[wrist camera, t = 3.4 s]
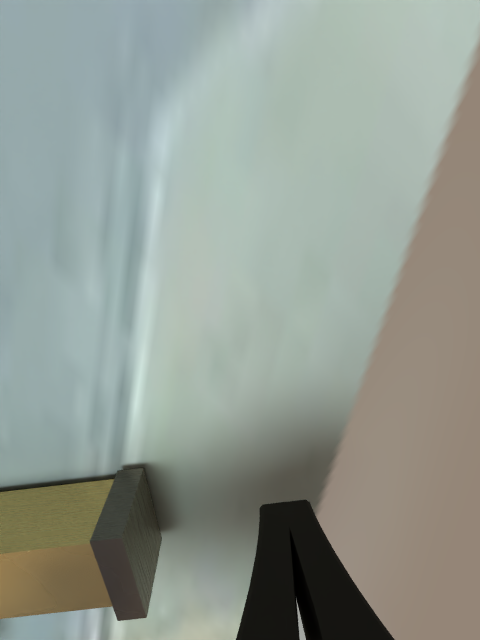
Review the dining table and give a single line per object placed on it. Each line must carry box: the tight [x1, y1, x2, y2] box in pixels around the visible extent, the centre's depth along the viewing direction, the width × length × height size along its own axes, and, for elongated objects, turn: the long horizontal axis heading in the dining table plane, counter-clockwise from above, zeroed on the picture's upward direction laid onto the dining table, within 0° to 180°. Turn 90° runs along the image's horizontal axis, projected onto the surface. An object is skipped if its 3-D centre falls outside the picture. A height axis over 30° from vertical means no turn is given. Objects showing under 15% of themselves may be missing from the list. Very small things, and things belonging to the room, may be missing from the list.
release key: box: [0, 468, 162, 621], centre depth 11 cm, size 3×7×2 cm, turn 97°
